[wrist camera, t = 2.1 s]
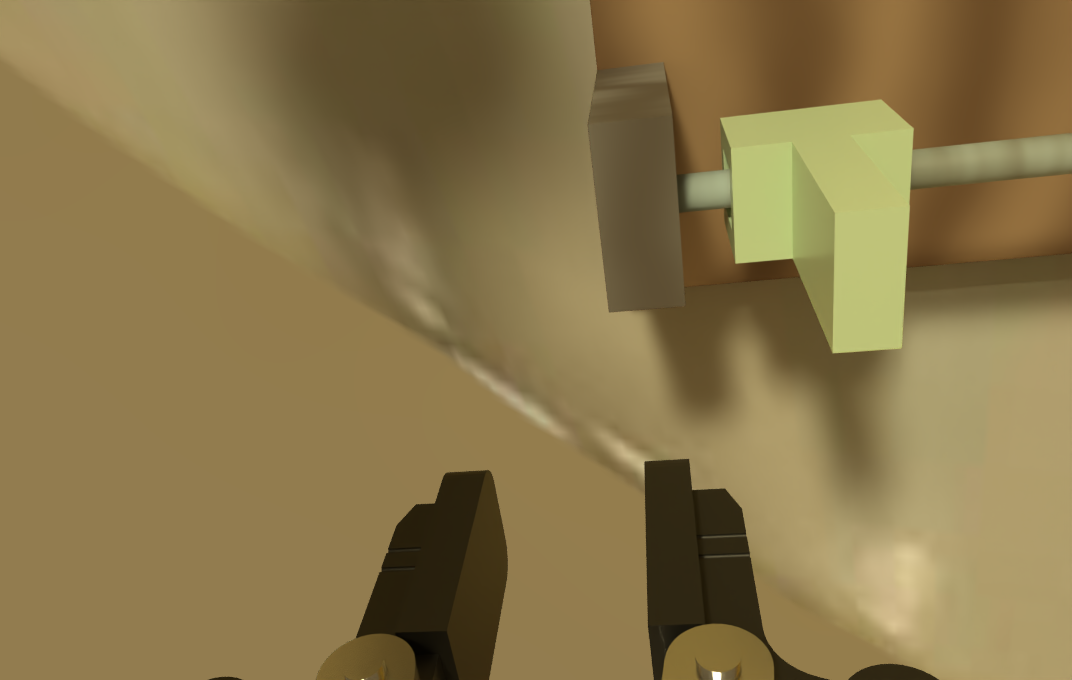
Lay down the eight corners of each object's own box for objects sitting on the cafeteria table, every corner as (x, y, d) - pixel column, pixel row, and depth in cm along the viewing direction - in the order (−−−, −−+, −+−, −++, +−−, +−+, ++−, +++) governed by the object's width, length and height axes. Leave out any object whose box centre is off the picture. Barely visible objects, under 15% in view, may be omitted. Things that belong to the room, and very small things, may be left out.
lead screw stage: (620, 277, 37) (618, 393, 29) (590, -22, 32) (575, 14, 24) (1269, 219, 34) (1480, 333, 25) (1358, -131, 28) (1664, -133, 20)
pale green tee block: (724, 222, 30) (761, 358, 21) (719, 117, 28) (757, 220, 20) (877, 207, 29) (976, 342, 21) (881, 99, 28) (991, 197, 19)
